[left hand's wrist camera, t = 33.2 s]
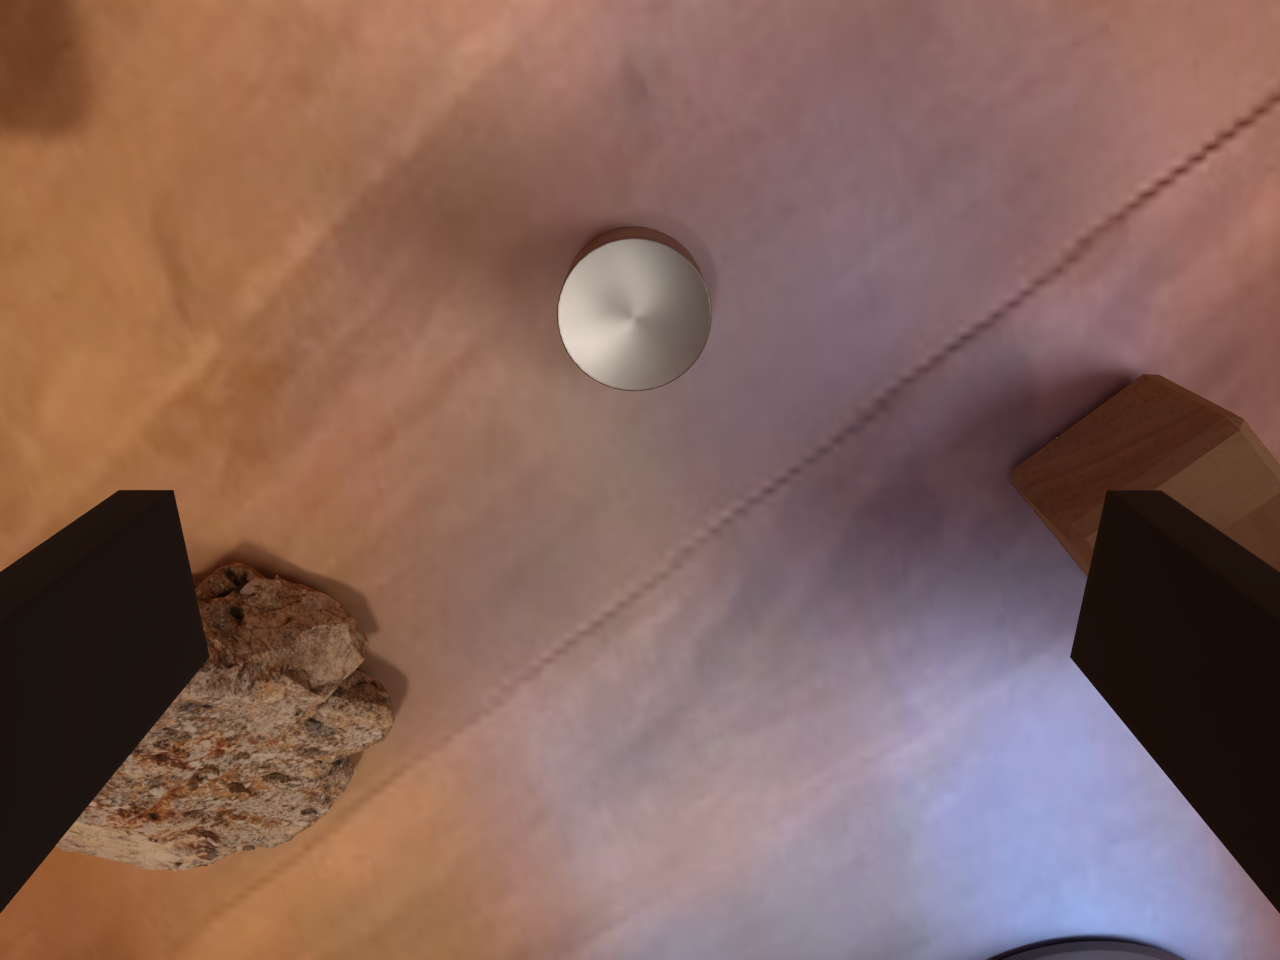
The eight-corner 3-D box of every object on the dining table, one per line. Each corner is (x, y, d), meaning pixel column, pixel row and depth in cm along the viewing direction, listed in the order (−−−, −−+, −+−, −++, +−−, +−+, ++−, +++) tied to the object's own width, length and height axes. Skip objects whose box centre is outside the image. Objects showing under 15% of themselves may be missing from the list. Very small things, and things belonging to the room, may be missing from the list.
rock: (224, 506, 29) (135, 593, 24) (459, 679, 32) (425, 791, 27) (3, 762, 34) (-114, 884, 28) (229, 895, 37) (161, 1028, 31)
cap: (596, 202, 26) (593, 210, 24) (729, 263, 26) (738, 277, 24) (542, 335, 27) (534, 355, 25) (669, 389, 28) (671, 414, 26)
